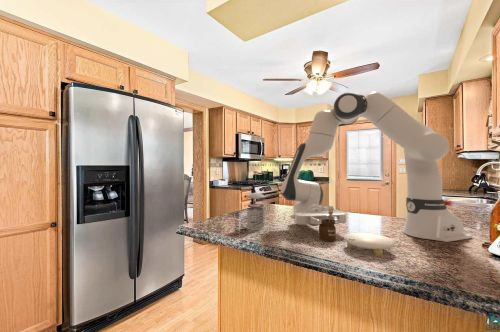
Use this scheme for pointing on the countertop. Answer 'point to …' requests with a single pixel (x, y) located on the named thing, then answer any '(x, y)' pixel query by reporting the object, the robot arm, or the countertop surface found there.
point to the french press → (256, 212)
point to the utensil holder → (327, 228)
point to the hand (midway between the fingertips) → (328, 222)
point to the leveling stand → (368, 242)
